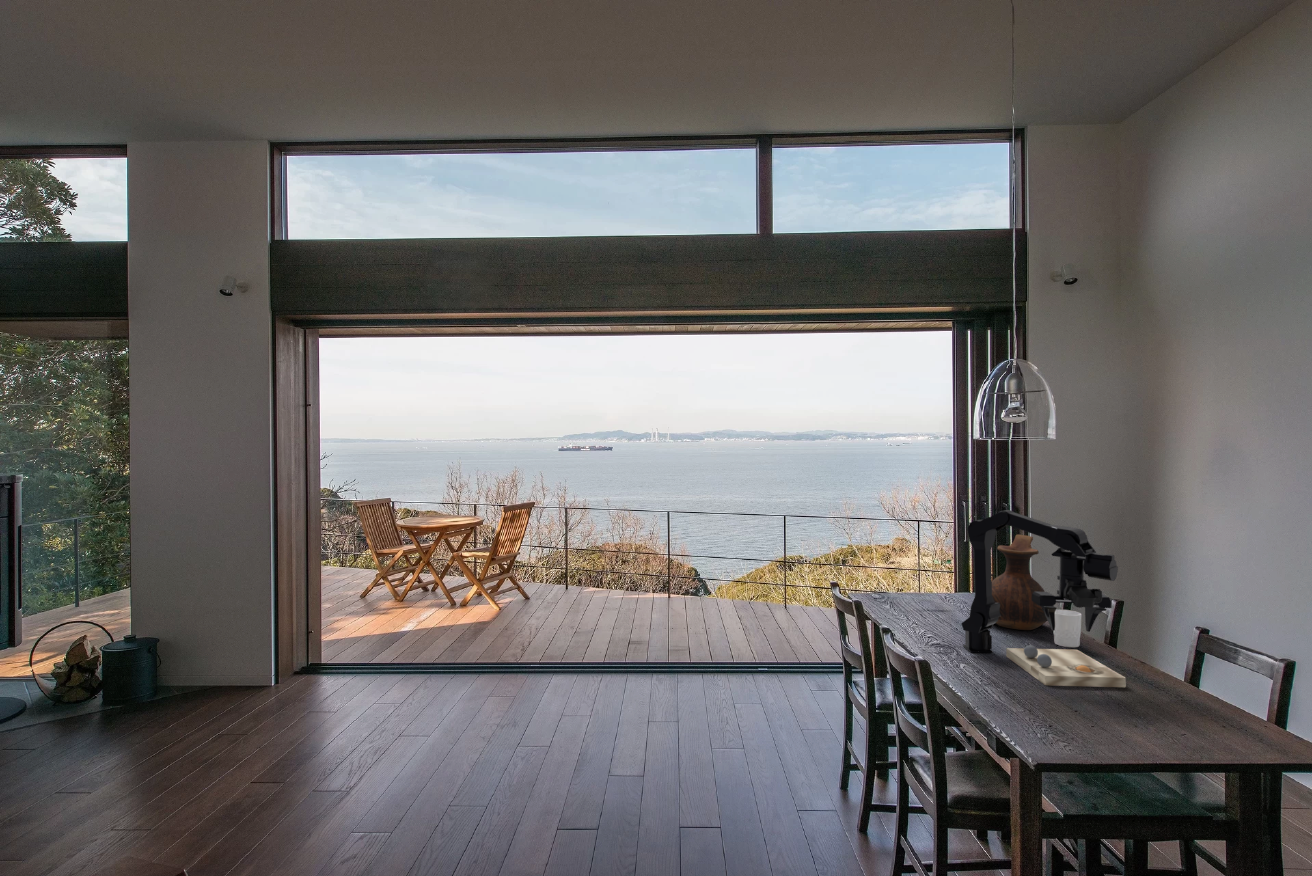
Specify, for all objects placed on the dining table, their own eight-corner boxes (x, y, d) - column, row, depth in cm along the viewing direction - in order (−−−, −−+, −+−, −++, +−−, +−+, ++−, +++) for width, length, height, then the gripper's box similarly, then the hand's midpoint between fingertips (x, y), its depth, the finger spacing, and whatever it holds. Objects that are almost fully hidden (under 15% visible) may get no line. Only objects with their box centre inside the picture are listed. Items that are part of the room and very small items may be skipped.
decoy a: (1027, 659, 195) (1027, 647, 195) (1021, 655, 198) (1021, 643, 198) (1040, 660, 195) (1040, 647, 195) (1034, 656, 198) (1034, 643, 198)
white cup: (1073, 641, 221) (1073, 609, 221) (1086, 648, 213) (1086, 616, 213) (1047, 640, 222) (1047, 609, 222) (1059, 647, 214) (1059, 615, 214)
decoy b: (1040, 669, 187) (1040, 656, 187) (1034, 664, 190) (1034, 652, 190) (1054, 669, 187) (1054, 656, 187) (1048, 665, 190) (1048, 652, 190)
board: (1045, 685, 182) (1045, 675, 182) (1006, 656, 206) (1006, 648, 206) (1125, 687, 180) (1125, 677, 180) (1076, 658, 204) (1076, 649, 204)
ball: (1082, 682, 185) (1078, 669, 185) (1075, 677, 189) (1071, 665, 189) (1095, 679, 185) (1091, 666, 185) (1088, 674, 188) (1084, 662, 188)
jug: (1067, 632, 231) (1067, 542, 231) (1008, 635, 228) (1008, 543, 228) (1022, 615, 253) (1022, 533, 253) (968, 618, 249) (968, 534, 249)
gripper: (1050, 579, 184) (1048, 638, 185) (1124, 581, 183) (1123, 641, 183) (1031, 571, 195) (1030, 626, 196) (1101, 573, 194) (1099, 628, 194)
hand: (1070, 630), depth 192 cm, fingers open, 9 cm apart
